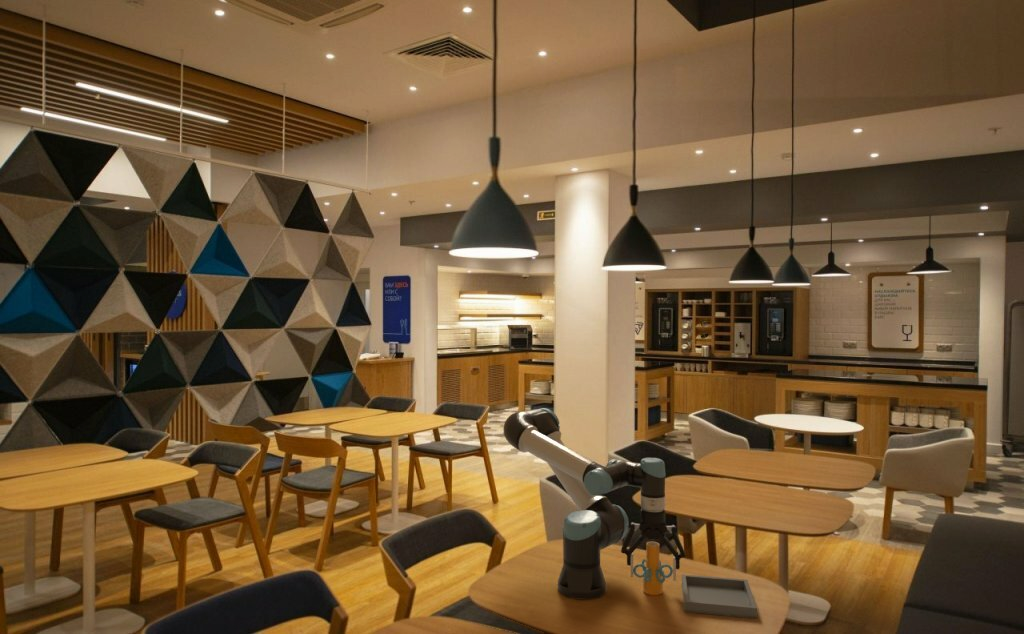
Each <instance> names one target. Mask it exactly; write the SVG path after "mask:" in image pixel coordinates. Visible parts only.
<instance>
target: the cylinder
mask: <svg viewBox="0 0 1024 634" xmlns="http://www.w3.org/2000/svg"><path fill="white" fill-rule="evenodd" d="M645 545H646V546H645V548H646V549H645V551H646V557H645V558H644V559H642V560H641V563H637V564H635V565H634V566H633V575H635V577H637V578H639V579H641V578H642V579H643V580H642V582H643V583H642V585H643V586H642V587H643V589H642V591H643V592H644V593H645V594H647V595H649V596H660V595H662V594H663V591H664V590H663V589H664V583H665V581H666V579H668V578H671V577H672V576H673V566H671V565H669V564H668V563H667V564H666V563H664V564H662V562H661V560H660V543H659V542H656V541H646V544H645ZM639 567H641V568H642V570H643V573H642V574H638V573H637V569H638V568H639ZM664 568H668V569H669V573H668V574H667V575H666V574H665V571H664V570H663V569H664Z"/></svg>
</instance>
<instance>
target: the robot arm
mask: <svg viewBox="0 0 1024 634" xmlns="http://www.w3.org/2000/svg"><path fill="white" fill-rule="evenodd" d="M560 428H561V426H560V420H559V418H558V416H557V414H556V413H555V412H554V411H553V410H551V409H550V408H547V407H546V408H544V407H543V408H542V407H538V408H532V409H529V410H522V411H516V412H514V413H512V414H510V415H509V416H508V417H507V418H506V419H505V422H504V425H503V435H504V438H505V439H506V440H505V441H506V442H507V443H508V444H509V445H511V446H512V447H513V448H515V449H516V450H518V451H520V452H521V453H524V454H525V453H530V454H531V455H533V456H535V457H536V458H538V459H540V460H541V461H544V462H545V463H547V464H548V466H549V467H550V469H551V470H552V472H553V473H554V475H555V476H556V478H557V479H558V480H559V482H560V484H561V485H562V487H563V489H565V491H566V492H567V494H568V496H569V497H570V499H571V500H572V502H573V503H574V504H575V506H576V507H577V509H578V510H575V511H572V512H570V513H568V514H567V515H565V517H564V520H563V526H562V537H563V538H562V543H563V544H562V548H563V549H562V553H563V554H562V555H563V559H562V560H563V562H562V568H561V570H560V573H559V576H558V580H557V590H558V592H559V593H560V594H562V595H564V597H568V598H569V599H570V598H571V599H575V600H593V599H597V598H600V597H602V596H604V595H605V594H606V592H607V583H606V582H607V581H606V579H605V574H604V572H603V570H602V566H601V550H604V549H605V548H608V547H610V546H612V545H614V544H617V543H619V542H620V541H621V540H623V539H624V538H625V537H626V538H625V540H624V542H623V544H622V546H621V549H620V552H621V554H625V555H626V565H627V566H630V578H634V572H633V569H634V552H635V550H636V549H637V548H638V547H639V546H640V545H641V544H642V542H643V541H644V540H646V539H647V540H656V541H657V540H661V542H662V543H664V545H665V546H666V547H667V549H668V550H669V551H670V553H671V554H672V555H673V557H672V569H673V573H672V579H673V582H676V581H677V570H680V568H681V566H680V565H681V564H680V561H681V559H682V558H683V559H684V558H686V557H687V556H686V551H685V549H684V547H683V545H682V542H681V540H680V538H679V536H678V534H677V532H676V528H677V527H676V525H675V524H672V525H667V523H666V474H667V473H666V465H665V461H664V460H663V459H661V458H658V457H644V458H642V459H641V460H640V462H635V461H634V462H633V461H630V460H624V459H622V458H621V459H617V458H616V459H615V458H613V459H610V460H609V461H608V463H606V465H605V466H603V465H602V464H599V463H597V462H596V461H593V460H592V459H590V458H588V457H587V456H584V455H583V454H581V453H579V452H577V451H575V450H573V449H572V448H570V447H568V446H566V445H565V444H564V442H563V441H562V440H561V439H562V438H561V437H562V432H561V431H560ZM627 486H628V487H629V486H630V487H635V488H640V507H641V509H640V523H635V522H633V521H631V522H629V517H628V515H627V513H626V512H625V510H624V509H623V508H622V507H621V506H620V505H616V504H614V503H611V501H610V500H609V498H608V497H607V496H605V494H608V493H609V492H612V491H615V490H617V489H621V488H623V487H627ZM629 523H630V529H629ZM638 529H639V530H640V531H641V533H640V534H639V536H637V538H636V539H635V540H634V541H633V543H631V545H630V546H629V544H630V542H631V540H632V539H633V536H634V533H635V532H636V531H637V530H638ZM667 531H668V532H669V534H672V538H673V540H674V542H675V544H676V547H677V549H676V548H675V547H674V545H673V544H672V543H671V541H670V540H669V539H668V537H667V536H666V534H665V533H666V532H667ZM628 547H629V548H628ZM678 551H679V552H678Z"/></svg>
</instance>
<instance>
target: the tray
mask: <svg viewBox="0 0 1024 634" xmlns="http://www.w3.org/2000/svg"><path fill="white" fill-rule="evenodd" d="M681 589H682V598H683V608H684V613H694V614H704V615H713V616H715V615H716V616H726V617H735V618H744V617H748V619H755V618H757V619H758V607H757V603H756V601H755V597H754V595H753V592H752V589H751V587H750V583H749V581H748V579H741V578H733V577H732V578H731V577H719V576H707V575H706V576H705V575H693V574H685V573H684V574H681Z"/></svg>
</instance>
